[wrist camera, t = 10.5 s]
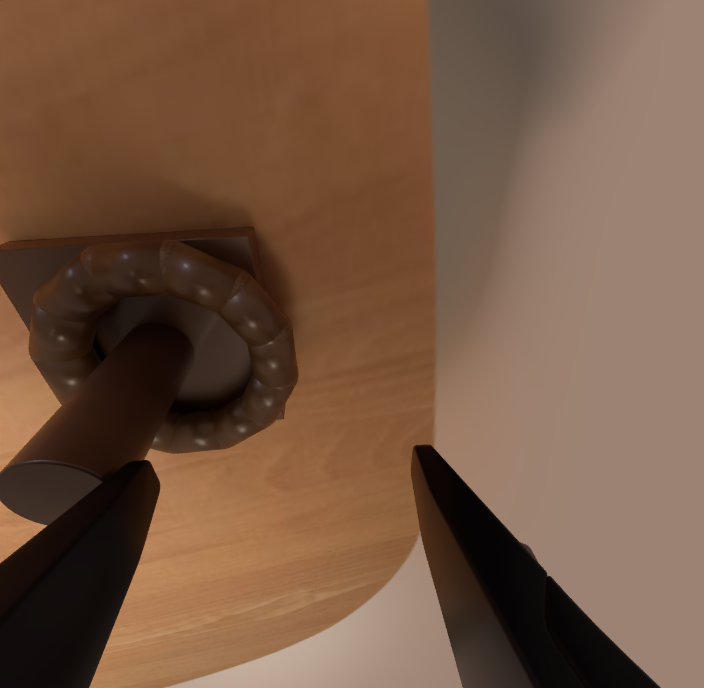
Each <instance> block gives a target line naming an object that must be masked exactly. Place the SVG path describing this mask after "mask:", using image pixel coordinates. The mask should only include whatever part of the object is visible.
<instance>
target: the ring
mask: <svg viewBox="0 0 704 688" xmlns="http://www.w3.org/2000/svg"><path fill="white" fill-rule="evenodd" d="M155 295H172V296H174V297H177V298H180V299H182V300H185V301H187V302H190V303H193V304H195V305H198V306H201V307H203V308H206V309H208V310H211V311H214V312H216V313H218V314H219V315H220V316H221V317H222V318H223V319H224V321H225V322H226V323H227V324H228V325H229V326H230V327H231V328H232V329H233V330H234V331H235V332H236V333H237V334H238V335H239V336H240V337H241V338H242V339H243V340H244V341H245V342H246V343H247V346H248V351H249V355H250V360H251V364H252V368H253V375H252V377H251V379H250V381H249V383H248V385H247V387H246V390H245V392H244V394H243V395H242V396H240V397H238V398H237V399H235V400H233V401H231V402H230V403H228V404H226V405H225V406H223V407H221V408H220V409H215V410H204V411H193V412H179V411H175V410H172V409H170V410H169V412H168V414H167V416H166V418H165V420H164V422H163V424H162V426H161V428H160V430H159V431H158V433H157V435H156V437H155V439H154V441H153V443H152V445H151V447H150V449H155V450H159V451H163V452H167V453H172V454H179V453H189V452H199V451H209V450H219V449H227V448H230V447H232V446H234V445H236V444H238V443H240V442H241V441H243V440H245V439H247V438H249V437H250V436H252V435H254V434H256V433H258V432H259V431H261V430H263V429H265V428H266V427H268V426H270V425H271V424H273V423H274V422H275V420H276V419H277V418H278V416H279V414H280V412H281V410H282V408H283V407H284V405H285V403H286V401H287V399H288V398H289V396H290V394H291V392H292V390H293V389H294V387H295V385H296V383H297V380H298V366H297V359H296V352H295V345H294V338H293V331H292V326H291V324H290V321H289V320H288V318H287V317H286V316H285V315H284V314H283V312H282V311H281V310H280V309H279V308H278V306H277V305H276V304H275V303H274V302H273V301H272V299H271V298H270V297H269V296H268V295H267V293H266V292H265V291H264V290H263V289H262V287H261V286H260V285H259V284H258V283H257V282H256V280H255V279H254V278H253V277H252V276H251V275H250V274H249V273H248V272H247V271H245V270H244V269H242V268H239V267H237V266H235V265H232V264H230V263H228V262H226V261H223V260H221V259H219V258H216V257H214V256H212V255H209V254H207V253H205V252H203V251H200V250H198V249H196V248H193V247H191V246H189V245H186V244H184V243H182V242H179V241H175V240H153V241H135V242H117V243H101V244H95V245H92V246H89V247H87V248H86V249H84V250H83V251H82V252H80V253H79V254H78V255H77V256H75V257H74V258H73V259H72V260H70V261H69V262H68V263H67V264H65V265H64V266H63V267H62V268H60V269H59V270H58V271H57V272H55V273H54V274H53V275H52V276H50V277H49V278H48V279H47V280H45V281H44V282H43V283H42V284H41V285H40V286H38V288H37V289H36V291H35V293H34V296H33V302H32V314H31V325H30V337H29V354H30V356H31V359H32V360H33V362H34V363H35V365H36V366H37V368H38V370H39V371H40V373H41V374H42V376H43V377H44V379H45V380H46V382H47V383H48V385H49V387H50V388H51V390H52V391H53V393H54V394H55V396H56V397H57V399H58V401H59V402H60V403H61V405H63V404H64V403H65V401H66V400H67V399H68V398H69V397H70V396H71V395H72V394H73V393H74V392H75V391H76V390H77V388H78V387H79V386H80V385H81V384H82V383H83V382H84V381H85V380H86V379H87V378H88V376H89V375H90V374H91V373H92V372H93V371H94V370H95V369H96V368H97V367H98V366H99V364H100V363H101V360H100V358H99V356H98V354H97V352H96V350H95V348H94V346H93V343H94V338H95V333H96V327H97V322H98V317H99V316H100V315H101V314H103V313H104V312H106V311H107V310H108V309H110V308H111V307H112V306H114V305H115V304H116V303H118V302H119V301H121V300H122V299H123V298H126V297H141V296H155Z"/></svg>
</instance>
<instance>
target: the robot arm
mask: <svg viewBox="0 0 704 688" xmlns="http://www.w3.org/2000/svg"><path fill="white" fill-rule="evenodd" d="M411 476H412V483H413V489H414V495H415V501H416V507H417V513H418V519H419V525H420V531H421V536H422V541H423V545H424V549H425V553H426V557H427V560H428V564H429V567H430V571H431V575H432V578H433V582H434V585H435V589H436V593H437V596H438V600H439V603H440V607H441V611H442V614H443V618H444V621H445V625H446V628H447V632H448V636H449V639H450V643H451V647H452V650H453V654H454V657H455V661H456V664H457V668H458V672H459V675H460V679H461V683H462V686H463V688H660V686H658V685H657V684H656V683H655V682H654V681H653V680H652V679H651V678H650V677H649V676H648V675H647V674H646V673H645V672H644V671H643V670H642V669H641V668H640V667H639V666H637V665H636V664H635V663H634V662H633V661H632V660H631V659H630V658H629V657H628V656H627V655H626V654H625V653H624V652H623V651H622V650H621V649H620V648H619V647H618V646H617V645H616V644H615V643H614V642H613V641H612V640H611V639H610V638H609V637H608V636H607V635H606V634H605V633H604V632H603V631H602V630H600V629H599V628H598V626H596V625H595V623H594V622H593V621H592V620H591V619H590V618H589V617H588V616H587V615H586V614H585V613H584V612H583V611H582V610H581V609H580V608H579V607H578V606H577V604H576V603H575V602H574V601H573V600H572V599H571V598H570V597H569V596H568V595H567V594H566V593H565V592H564V591H563V589H562V588H561V587H560V586H559V585H558V584H557V583H556V582H555V581H554V580H553V578H552V577H551V576H547V572H546V571H545V570H544V568H543V567H542V566H541V565H540V564H539V563H538V562H537V561H536V560H535V559H534V558H533V557H532V556H531V554H530V553H529V552H528V551H527V550H526V549H525V548H524V547H523V546H522V545H521V543H520V542H519V541H518V540H517V539H516V538H515V537H514V536H513V535H512V534H511V533H510V531H509V530H508V529H507V528H506V527H505V526H504V525H503V524H502V523H501V522H500V520H499V519H498V518H497V517H496V516H495V515H494V514H493V513H492V512H491V511H490V509H489V508H488V507H487V506H486V505H485V504H484V503H483V502H482V501H481V500H480V499H479V497H478V496H477V495H476V494H475V493H474V492H473V491H472V490H471V489H470V487H469V486H467V484H466V483H465V482H464V481H463V480H462V479H461V478H460V477H459V475H458V474H457V473H456V472H455V471H454V470H453V469H452V468H451V467H450V466H449V464H448V463H447V462H446V461H445V460H444V459H443V458H442V457H441V456H440V454H439V453H438V452H437V451H436V450H435V449H434V448H433V447H432V446H431V445H415V446H414V448H413V453H412V463H411ZM159 492H160V482H159V479H158V477H157V475H156V473H155V471H154V469H153V467H152V465H151V463H150V462H149V461H148V460H137V461H130V462H128V463H126V464H125V465H124V466H122V467H121V468H120V469H119V470H117V471H116V472H115V473H113V474H112V475H111V476H110V477H108V478H107V479H106V480H105V481H103V482H102V483H101V484H100V485H98V486H97V487H96V488H95V489H93V490H92V491H91V492H90V493H88V494H87V495H86V496H84V497H83V498H82V499H81V500H79V501H78V502H77V503H76V504H74V505H73V506H72V507H71V508H69V509H68V510H67V511H66V512H64V513H63V514H62V515H61V516H59V517H58V518H57V519H56V520H54V521H53V522H52V523H50V524H49V525H48V526H47V527H45V528H44V529H43V530H42V531H40V532H39V533H38V534H37V535H35V536H34V537H33V538H32V539H30V540H29V541H28V542H27V543H25V544H24V545H23V546H21V547H20V548H19V549H18V550H16V551H15V552H14V553H13V554H11V555H10V556H9V557H8V558H6V559H5V560H4V561H3V562H1V563H0V688H89V687H90V684H91V682H92V679H93V677H94V674H95V672H96V669H97V667H98V664H99V661H100V659H101V656H102V654H103V651H104V649H105V646H106V644H107V641H108V639H109V636H110V634H111V631H112V629H113V626H114V624H115V621H116V619H117V616H118V614H119V611H120V609H121V606H122V604H123V601H124V599H125V596H126V593H127V591H128V588H129V586H130V583H131V581H132V578H133V576H134V573H135V571H136V568H137V565H138V563H139V560H140V557H141V554H142V551H143V548H144V544H145V541H146V538H147V534H148V531H149V527H150V524H151V520H152V517H153V513H154V510H155V506H156V503H157V499H158V496H159Z"/></svg>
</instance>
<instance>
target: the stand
mask: <svg viewBox="0 0 704 688" xmlns="http://www.w3.org/2000/svg"><path fill="white" fill-rule="evenodd" d="M153 240H175V241H179V242H182V243H184V244H186V245H189V246H191V247H193V248H196V249H198V250H200V251H203V252H205V253H207V254H209V255H212V256H214V257H216V258H219V259H221V260H223V261H226V262H228V263H230V264H232V265H235V266H237V267H239V268H242V269H244V270H245V271H247V272H248V273H249V274H250V275H251V276H252V277H253V278H254V279H255V280H256V282H257V283H258V284H259V285H260V286H261V287H262V289H263V290H264V291H265V285H264V280H263V274H262V269H261V264H260V258H259V253H258V247H257V242H256V236H255V231H254V228H253V227H247V228H230V229H213V230H196V231H179V232H162V233H145V234H128V235H111V236H94V237H77V238H60V239H43V240H26V241H10V242H7V243H4V244H1V245H0V284H1V286H2V288H3V289H4V291H5V293H6V294H7V296H8V297H9V299H10V301H11V302H12V304H13V305H14V307H15V309H16V310H17V312H18V313H19V315H20V317H21V318H22V320H23V322H24V323H25V325H26V326H27V328H28V330H29V331H30V325H31V314H32V302H33V296H34V293H35V291H36V289H37V288H38V286H40V285H41V284H42V283H43V282H44V281H45V280H47V279H48V278H49V277H50V276H52V275H53V274H54V273H55V272H57V271H58V270H59V269H60V268H62V267H63V266H64V265H65V264H67V263H68V262H69V261H70V260H72V259H73V258H74V257H75V256H77V255H78V254H79V253H80V252H82V251H83V250H84V249H86V248H87V247H89V246H92V245H95V244H101V243H117V242H135V241H153ZM265 292H266V291H265ZM93 346H94V348H95V350H96V352H97V354H98V356H99V358H100V360H101V363H100V364H99V366H98V367H97V368H96V369H95V370H94V371H93V372H92V373H91V374H90V375H89V376H88V378H87V379H86V380H85V381H84V382H83V383H82V384H81V385H80V386H79V387H78V388H77V390H76V391H75V392H74V393H73V394H72V395H71V396H70V397H69V398H68V399H67V400H66V401H65V403H64V404H63V405H62V406H61V407H60V408H59V409H58V410H57V411H56V412H55V413H54V415H53V416H52V417H51V418H50V419H49V420H48V421H47V422H46V423H45V424H44V425H43V427H42V428H41V429H40V430H39V431H38V432H37V433H36V434H35V435H34V436H33V437H32V439H31V440H30V441H29V442H28V443H27V444H26V445H25V446H24V447H23V448H22V449H21V450H20V452H19V453H18V454H17V455H16V456H15V457H14V458H13V459H12V460H11V461H10V462H9V464H8V465H7V466H6V467H5V468H4V469H3V470H2V471H1V472H0V501H1V502H2V503H3V504H4V505H5V506H6V507H7V508H8V509H10V510H11V511H13V512H14V513H16V514H18V515H19V516H21V517H24V518H26V519H28V520H31V521H34V522H37V523H40V524H44V525H49V524H50V523H52V522H53V521H54V520H56V519H57V518H58V517H59V516H61V515H62V514H63V513H64V512H66V511H67V510H68V509H69V508H71V507H72V506H73V505H74V504H76V503H77V502H78V501H79V500H81V499H82V498H83V497H84V496H86V495H87V494H88V493H90V492H91V491H92V490H93V489H95V488H96V487H97V486H98V485H100V484H101V483H102V482H103V481H105V480H106V479H107V478H108V477H110V476H111V475H112V474H113V473H115V472H116V471H117V470H119V469H120V468H121V467H122V466H124V465H125V464H126V463H128V462H130V461H137V460H144V459H145V457H146V455H147V453H148V451H149V449H150V447H151V445H152V443H153V441H154V439H155V437H156V435H157V433H158V431H159V430H160V428H161V426H162V424H163V422H164V420H165V418H166V416H167V414H168V412H169V410H170V409H172V410H175V411H179V412H193V411H204V410H215V409H220V408H221V407H223V406H225V405H226V404H228V403H230V402H231V401H233V400H235V399H237V398H238V397H240V396H242V395H243V394H244V392H245V390H246V387H247V385H248V383H249V381H250V379H251V377H252V375H253V368H252V364H251V360H250V355H249V351H248V346H247V343H246V342H245V341H244V340H243V339H242V338H241V337H240V336H239V335H238V334H237V333H236V332H235V331H234V330H233V329H232V328H231V327H230V326H229V325H228V324H227V323H226V322H225V321H224V319H223V318H222V317H221V316H220V315H219V314H218V313H216V312H214V311H211V310H208V309H206V308H203V307H201V306H198V305H195V304H193V303H190V302H187V301H185V300H182V299H180V298H177V297H174V296H172V295H155V296H141V297H126V298H123V299H122V300H121V301H119V302H118V303H116V304H115V305H114V306H112V307H111V308H110V309H108V310H107V311H106V312H104V313H103V314H101V315H100V316H99V317H98V322H97V327H96V333H95V338H94V343H93ZM284 413H285V405H284V407H283V408H282V410H281V412H280V414H279V416H278V418H277V419H276V420H278V419H284Z"/></svg>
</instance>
